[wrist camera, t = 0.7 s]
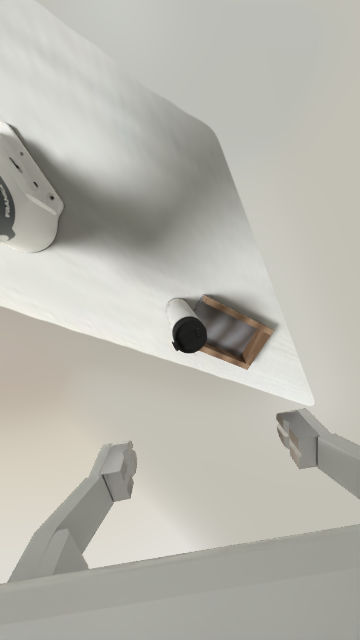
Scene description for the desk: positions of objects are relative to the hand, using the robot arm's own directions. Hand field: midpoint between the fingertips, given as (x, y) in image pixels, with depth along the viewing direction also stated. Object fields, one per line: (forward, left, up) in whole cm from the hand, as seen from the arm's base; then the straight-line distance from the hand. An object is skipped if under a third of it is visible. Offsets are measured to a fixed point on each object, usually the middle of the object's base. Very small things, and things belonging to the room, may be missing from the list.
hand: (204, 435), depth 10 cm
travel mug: (+5, +2, -40) cm, 41 cm away
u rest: (+16, +13, -40) cm, 45 cm away
